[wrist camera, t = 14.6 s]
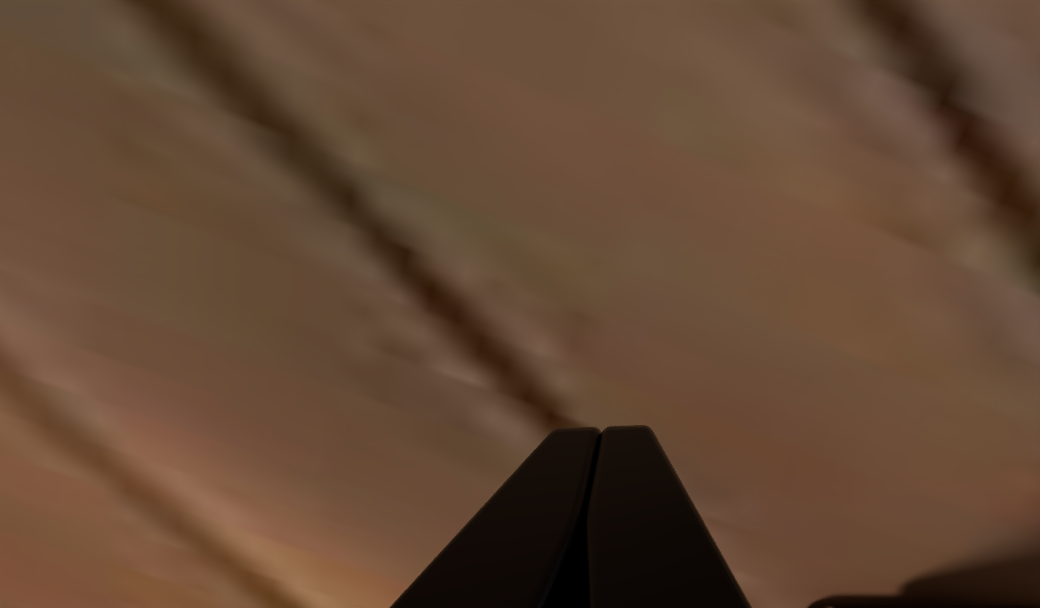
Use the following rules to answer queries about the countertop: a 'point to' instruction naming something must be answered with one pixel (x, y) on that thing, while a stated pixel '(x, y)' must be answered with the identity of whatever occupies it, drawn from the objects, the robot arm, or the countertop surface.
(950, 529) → the countertop surface
